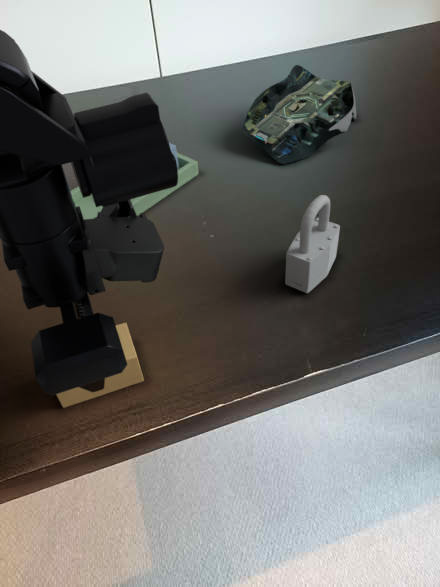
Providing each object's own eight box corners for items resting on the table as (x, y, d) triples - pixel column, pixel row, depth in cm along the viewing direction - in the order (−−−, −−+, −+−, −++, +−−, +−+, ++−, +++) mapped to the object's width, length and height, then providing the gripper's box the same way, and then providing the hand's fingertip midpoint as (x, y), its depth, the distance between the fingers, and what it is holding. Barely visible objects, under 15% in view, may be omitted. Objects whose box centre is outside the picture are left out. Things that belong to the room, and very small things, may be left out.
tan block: (63, 408, 50) (50, 384, 47) (56, 371, 53) (44, 347, 51) (144, 381, 52) (137, 356, 49) (133, 347, 55) (126, 321, 52)
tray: (86, 251, 66) (82, 238, 64) (43, 222, 70) (38, 210, 69) (198, 174, 76) (197, 161, 74) (154, 153, 80) (152, 141, 79)
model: (238, 164, 81) (321, 181, 74) (227, 110, 75) (317, 122, 68) (300, 102, 91) (378, 111, 84) (295, 50, 85) (379, 55, 78)
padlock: (310, 247, 64) (315, 177, 57) (340, 259, 62) (350, 188, 55) (280, 283, 60) (282, 213, 53) (312, 297, 58) (318, 226, 51)
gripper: (181, 269, 34) (202, 402, 45) (117, 133, 46) (146, 263, 57) (3, 322, 32) (72, 447, 43) (-14, 164, 44) (43, 293, 55)
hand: (88, 350), depth 50 cm, fingers open, 9 cm apart
